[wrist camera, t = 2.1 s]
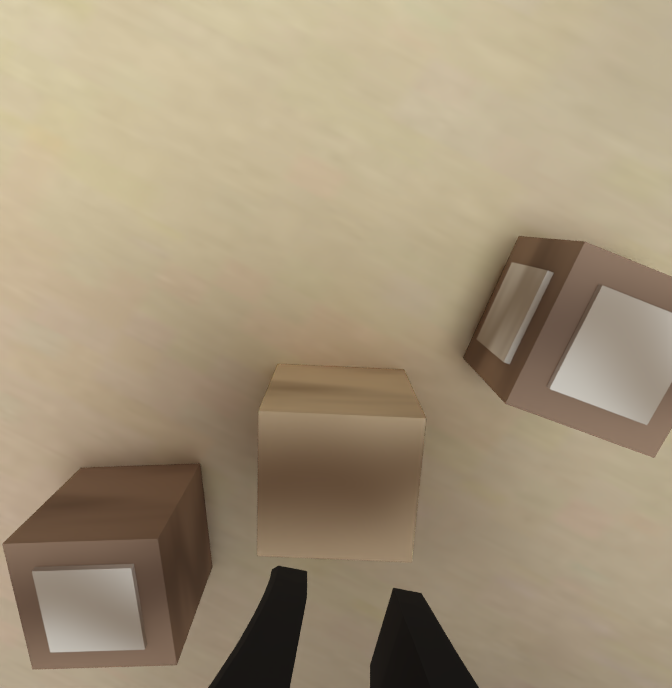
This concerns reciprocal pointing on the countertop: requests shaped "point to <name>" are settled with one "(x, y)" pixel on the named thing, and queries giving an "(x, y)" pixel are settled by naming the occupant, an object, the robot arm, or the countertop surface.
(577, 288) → the walnut block
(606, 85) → the countertop surface
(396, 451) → the oak block
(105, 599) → the walnut block
